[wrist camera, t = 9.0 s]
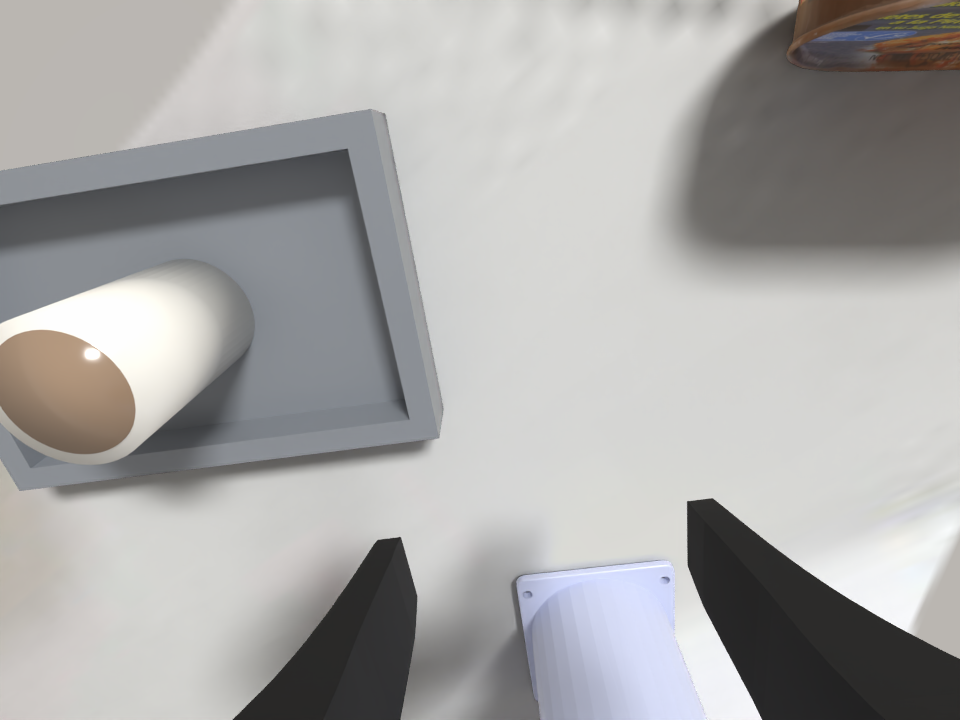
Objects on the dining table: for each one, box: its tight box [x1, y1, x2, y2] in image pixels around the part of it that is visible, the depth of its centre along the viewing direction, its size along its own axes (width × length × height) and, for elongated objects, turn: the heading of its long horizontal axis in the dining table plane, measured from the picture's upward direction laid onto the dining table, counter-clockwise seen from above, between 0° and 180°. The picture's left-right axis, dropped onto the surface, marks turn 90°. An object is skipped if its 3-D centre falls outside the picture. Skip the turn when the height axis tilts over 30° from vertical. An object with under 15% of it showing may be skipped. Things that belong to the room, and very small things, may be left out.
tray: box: [0, 109, 443, 491], centre depth 20 cm, size 12×18×2 cm, turn 98°
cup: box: [0, 259, 255, 465], centre depth 17 cm, size 5×5×7 cm
